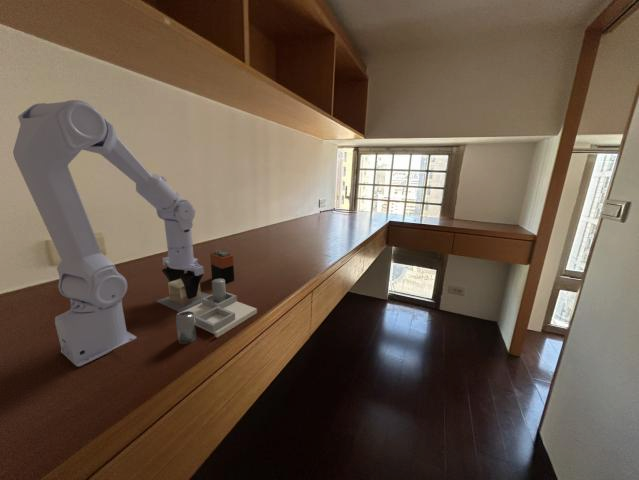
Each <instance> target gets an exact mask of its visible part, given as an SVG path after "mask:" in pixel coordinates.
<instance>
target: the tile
mask: <svg viewBox="0 0 639 480" xmlns="http://www.w3.org/2000/svg"><path fill="white" fill-rule="evenodd" d="M209 295H210V294H209V293H206V292H204V291H201V298H198V299H196V300H194V301H192V302H189V303H187V304H185V305H180V304H178V303H176V302H173V301H171V300H170V295H169V296H166V297H164V298H162V299H158V300H156V302H157V303H158V304H161V305H163V306H166V307H168V308H170V309H172V310H174V311H176V312H178V313H180V312H182V311H185V310H187V309H189V308H191V307H193V306H196V305H198V304H200V303H202V299H203V298H205V297H207V296H209Z"/></svg>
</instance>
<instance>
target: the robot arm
mask: <svg viewBox="0 0 639 480" xmlns="http://www.w3.org/2000/svg"><path fill="white" fill-rule="evenodd" d="M17 118H18V122H19V124H20V126H19V128H18V133H17V136H16V139H15V142H14V146H13V151H12V153H13V158H14V161H15V163H16V165H17V167H18V169H19V171H20V173H21V176H22V178H23V180H24V183H25V184H26V187H27V188H28V191H29V192H30V195H31V197H32V199H33V201H34V204H35V205H36V206H35V207H36V208H37V210H38V212H39V214H40V215H39V216H41V218H42V221H43V223H44V225H45V227H46V230H47V231H48V234H49V237H50V239H51V240H52V243H53V245H54V247H55V249H56V251H57V253H58V256H59V258H60V259H61V262H60V263H59V265H57V267H56V270H57V272H58V276H59V280H58V290H59V293H60V294H61V295H62V296H63V297H65V298H67V299H69V300H70V309H69V310H67V311H65V312H64V313H61V314H59V315H57V316H55V317H54V325H55V328H56V329H55V330H56V332H57V337H58V340H59V345H60V349H61V350H60V352H61V354H63V355H64V356H65V357H66V358H67V359H68V360H69V361H70V362H71V363H72V364H73V365H74V366H75V367H79V368H80V367H82V366H85V364H88V363H90V362H93V361H94V360H96V359H99V358H101V357H103V356H104V355H107V354H109V353H111V352H113V350H114V349H116V348H117V349H118V348H119V347H120V346H123V345H125V344H127V343H129V342H132V341H133V340H136V339H137V336H136V335H135V334H132V333H131V332H130V331H128V330H127V326H126V319H125V313H124V308H123V298H124V296H126V293H127V291H128V282H127V279H126V277H125V276H123V274H121V273H120V272H118V270H117V268H116V265H115V264H114V262H112V261H111V260H110V259H109V258H108V257H107V256H105V255H104V254H103V253H102V250H101V247H100V245H99V243H98V240H97V237H96V235H95V233H94V230H93V226H92V225H91V222H90V219H89V218H88V213H87V212H86V210H85V206H84V204H83V202H82V198H81V197H80V194H79V192H78V189H77V185H76V184H75V181H74V178H73V176H72V174H71V171H70V168H69V164H70V163H71V162H72V161H73V160H74V159H75V158H76V157H77V155H78V154H80V152H82V151H86V152H91V153H95V154H99V155H100V156H102V157H103V158H104V159H106V160H107V161H108V162H109V163H110V164H112V165H113V166H114V167H115V168H116V169H118V170H119V171H120V172H121V173H123V174H124V175H125V176H127V177H128V178H129V179H130V180H131V181H133V183H134V184H135V191H136V192H137V193H138V194H139V195H140V196H141V197H142V198H143V199H144V200H146V201H147V202H148V203H149V204H150V205H151V206H152V207H153V208H155V210H156V214H157V217H158V218H159V219H161V220H163V221H164V230H165V236H166V238H165V239H166V246H167V247H166V248H167V256H166V257H162V265H163V266H166V268H162V269H161V272H162V273H163V274H164V276H165V277H166V278H167V280H168V282H171V281H174V280H177V279H180V278H181V280H182V281H183V284H184V286H185V290H186V294H187V297H188V299H191V298H194V297H196V296H197V291H198V286H199V283H200V284H201V280H202V278H203V276H204V274H205V271H204V266H202V265H200V264H199V263H198V261H199V259H198V258H195V257H194V255H195V254H194V246H193V245H194V244H193V234H192V228H193V227H194V225H193V221H194V219H195V216H196V209H195V208H194V207H193V205H192V203H190V201H189V200H187V199H182V198H181V197H180V194H179V193H178V191H175V190H174V189H173V188H172V187H171V186H170V185H169V184H168V183H167V179H166V178H165V177H164V176H161V175H159V174H156V173H150V172H149V170H147V169H146V168H145V166H144V165H143V163H141V162H140V160H139V159H138V158H137V157H136V156H135V155H134V154H133V153H132V151H131V150H130V149H129V148H128V147H127V146H126V144H124V143H123V141H122V140H121V139H120V138H119V136H118V135H117V134H116V131H115V127H114V124H112V123H111V122H110V121H108V120H107V119H106V118H104V116H103V114H102V113H101V112H100V111H99V110H98V109H97V108H96V107H95V106H93V104H90V103H89V102H86V101H84V100H79V99H70V100H66V101H62V102H61V101H59V102H51V103H46V102H41V103H35V104H33V105H31V106H30V107H28V108H27V109H25V110H24V111H23V112H22V113H21V114H19V115H18V117H17Z"/></svg>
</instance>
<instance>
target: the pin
mask: <svg viewBox="0 0 639 480" xmlns="http://www.w3.org/2000/svg"><path fill="white" fill-rule="evenodd" d="M181 312H182V311H181ZM179 313H180V312H179ZM177 314H178V313H177ZM177 314H176V316H175V322H176V323H175V324H176V330H177V339H178V344H180V345H188V344H191V343H193V342H195V341H196V339H197V334H196V325H195V321H194V313H193V312H190V311H187V312H182V313H180V314H178V315H177Z"/></svg>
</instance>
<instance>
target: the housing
mask: <svg viewBox="0 0 639 480" xmlns="http://www.w3.org/2000/svg"><path fill="white" fill-rule="evenodd" d="M167 285H168V286H167V287H168V294H169V296H170V300H171V301H173V302H176V303H178V304H180V305H185V304H187V303H189V302H192V301H194V300H196V299H198V298H201V292H202V291H201V282H200V283H199V286H198V291H197V296H196V297H194V298H191V299H188V297H187V294H186V290H185V286H184V284H183V281H182V280H181V278H180V279H177V280H174V281H171V282H169V281H168V282H167Z"/></svg>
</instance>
